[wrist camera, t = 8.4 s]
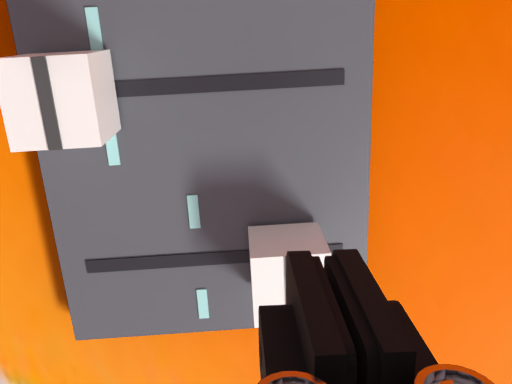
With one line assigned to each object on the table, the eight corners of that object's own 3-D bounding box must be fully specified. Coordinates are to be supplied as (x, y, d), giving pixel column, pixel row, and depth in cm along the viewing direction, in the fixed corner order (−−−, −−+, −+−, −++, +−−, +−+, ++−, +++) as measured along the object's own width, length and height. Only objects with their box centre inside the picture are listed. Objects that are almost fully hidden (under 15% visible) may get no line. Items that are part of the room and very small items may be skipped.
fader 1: (28, 53, 24) (-12, 59, 20) (109, 49, 24) (86, 53, 20) (44, 133, 25) (9, 152, 21) (121, 128, 25) (101, 147, 21)
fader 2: (247, 226, 27) (250, 259, 23) (317, 221, 27) (331, 253, 24) (251, 288, 29) (254, 328, 25) (318, 283, 29) (331, 323, 25)
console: (21, -8, 25) (2, -11, 23) (364, -26, 25) (376, -30, 23) (85, 321, 31) (75, 341, 29) (357, 302, 32) (365, 321, 30)
